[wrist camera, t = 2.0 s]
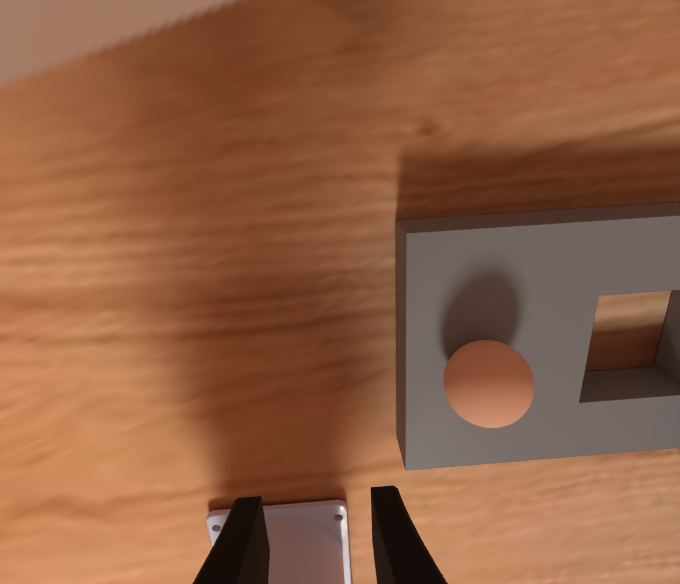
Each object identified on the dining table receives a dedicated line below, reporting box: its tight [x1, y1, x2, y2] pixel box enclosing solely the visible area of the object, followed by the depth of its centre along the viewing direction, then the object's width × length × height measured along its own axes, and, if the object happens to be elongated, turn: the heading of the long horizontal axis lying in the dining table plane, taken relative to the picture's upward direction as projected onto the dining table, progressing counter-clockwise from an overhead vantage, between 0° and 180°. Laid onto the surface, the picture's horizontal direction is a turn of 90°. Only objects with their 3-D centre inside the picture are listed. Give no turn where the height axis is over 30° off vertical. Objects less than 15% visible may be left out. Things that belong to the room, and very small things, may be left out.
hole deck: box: [395, 202, 680, 471], centre depth 20 cm, size 12×15×4 cm
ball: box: [443, 340, 535, 428], centre depth 17 cm, size 4×4×4 cm
